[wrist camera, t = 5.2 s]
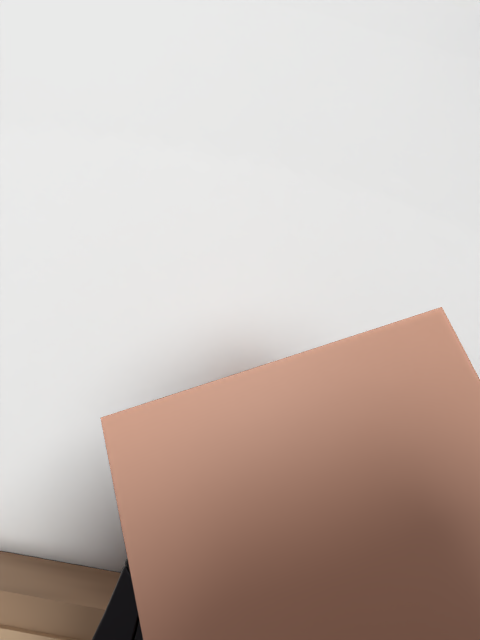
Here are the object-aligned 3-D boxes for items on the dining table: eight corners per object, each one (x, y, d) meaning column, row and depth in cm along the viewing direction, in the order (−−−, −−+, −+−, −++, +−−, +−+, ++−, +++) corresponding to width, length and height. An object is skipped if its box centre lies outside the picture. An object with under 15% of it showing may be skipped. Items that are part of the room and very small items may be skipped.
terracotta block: (322, 472, 15) (670, 744, 3) (232, 505, 15) (207, 970, 3) (289, 381, 16) (441, 307, 4) (205, 408, 16) (100, 417, 4)
